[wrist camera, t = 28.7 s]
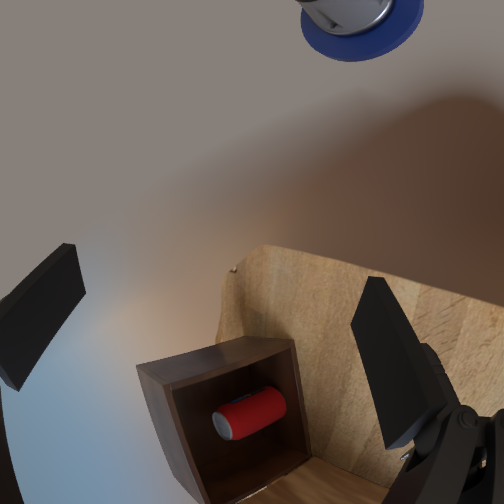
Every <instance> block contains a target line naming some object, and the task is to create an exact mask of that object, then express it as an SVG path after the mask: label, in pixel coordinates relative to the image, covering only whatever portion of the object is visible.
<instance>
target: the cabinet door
mask: <svg viewBox="0 0 504 504" xmlns="http://www.w3.org/2000/svg"><path fill="white" fill-rule="evenodd" d="M389 490H390V489H388V488H386V487H383V486H380V485H378V484H375V483H373V482H370V481H368V480H365V479H363V478H360V477H358V476H356V475H354V474H351V473H349V472H347V471H345V470H342V469H340V468H338V467H336V466H334V465H332V464H330V463H328V462H326V461H324V460H322V459H320V458H318V457H316V456H314V457H312V458H311V459H310V460H308V461H307V462H306V463H304V464H303V465H301V466H300V467H298V468H297V469H295V470H294V471H292V472H291V473H289V474H288V475H286V476H285V477H283V478H282V479H280V480H278V481H277V482H275V483H274V484H272V485H270V486H269V487H267V488H265V489H264V490H262V491H260V492H258V493H257V494H255V495H253V496H251V497H249V498H247V499H246V500H244V501H242V502H240V503H238V504H381V503H382V501H383V500H384V498H385V497H386V495H387V493H388V492H389Z"/></svg>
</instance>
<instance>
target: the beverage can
mask: <svg viewBox="0 0 504 504" xmlns="http://www.w3.org/2000/svg"><path fill="white" fill-rule="evenodd" d="M285 414H286V402H285V399H284V397H283V396H282V394H281V393H280V392H279V391H278V390H276V389H275V388H273V387H271V386H266V387H264V388H261V389H259V390H257V391H254V392H252V393H250V394H247V395H245V396H243V397H240V398H238V399H236V400H233V401H231V402H228V403H226V404H224V405H221V406H220V407H219V408H218V409H217V410H216V412H214V413H213V415H212V420H213V423H214V426H215V428H216V430H217V432H218V433H219V434H220V436H221V437H222V438H224V439H225V440H240V439H242V438H244V437H246V436H248V435H250V434H252V433H254V432H256V431H258V430H260V429H262V428H264V427H266V426H268V425H270V424H271V423H273V422H275V421H277V420H279V419H280V418H282V417H284V416H285Z"/></svg>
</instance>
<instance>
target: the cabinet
mask: <svg viewBox="0 0 504 504" xmlns="http://www.w3.org/2000/svg"><path fill="white" fill-rule="evenodd" d="M136 368H137V372H138V376H139V380H140V383H141V387H142V390H143V393H144V397H145V400H146V403H147V406H148V409H149V412H150V416H151V418H152V422H153V424H154V427H155V430H156V433H157V436H158V438H159V441H160V444H161V446H162V449H163V451H164V454H165V456H166V459H167V461H168V464H169V466H170V469H171V471H172V473H173V475H174V477H175V478H176V479H177V481H178V482H179V483H180V484H181V485H182V486H183V487H184V488H185V490H186V491H187V492H188V493H189V494H190V495H191V496H192V497H193V498H194V499H195V500H196V501H197V502H198V503H199V504H234V503H236V502H238V501H240V500H241V499H243V498H245V497H247V496H249V495H251V494H253V493H254V492H256V491H258V490H260V489H262V488H263V487H265V486H267V485H268V484H270V483H272V482H273V481H275V480H277V479H278V478H280V477H281V476H283V475H285V474H286V473H288V472H289V471H291V470H292V469H294V468H295V467H297V466H298V465H300V464H301V463H303V462H304V461H305V460H307V459H308V458H310V457H311V456H312V453H311V446H310V439H309V432H308V425H307V418H306V412H305V405H304V399H303V392H302V386H301V380H300V373H299V367H298V361H297V355H296V349H295V343H294V340H286V339H272V338H259V337H248V336H242V337H239V338H236V339H233V340H229V341H226V342H223V343H219V344H216V345H213V346H209V347H205V348H202V349H199V350H195V351H191V352H188V353H184V354H180V355H176V356H172V357H168V358H164V359H160V360H156V361H152V362H147V363H143V364H139V365H136ZM266 386H271V387H273V388H275V389H276V390H278V391H279V392H280V393H281V394H282V396H283V397H284V399H285V402H286V414H285V416H284V417H282V418H280V419H279V420H277V421H275V422H273V423H271V424H270V425H268V426H266V427H264V428H262V429H260V430H258V431H256V432H254V433H252V434H250V435H248V436H246V437H244V438H242V439H240V440H225V439H224V438H222V437H221V436H220V434H219V433H218V432H217V430H216V428H215V426H214V423H213V420H212V415H213V413H214V412H216V410H217V409H218V408H219V407H220V406H221V405H224V404H226V403H228V402H231V401H233V400H236V399H238V398H240V397H243V396H245V395H247V394H250V393H252V392H254V391H257V390H259V389H261V388H264V387H266Z"/></svg>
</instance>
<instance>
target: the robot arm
mask: <svg viewBox="0 0 504 504" xmlns="http://www.w3.org/2000/svg"><path fill="white" fill-rule="evenodd" d="M296 1H297V2H299V4H300V5H301V6H302V7H303V9H304V10H305V11H306V12H307V14H308V15H309V16H310V17H311V19H312V20H313V21H314V22H315V23H316V24H317V26H319V27H320V28H321V29H323V30H324V31H326V32H327V33H329V34H331V35H333V36H337V37H343V38H350V37H357V36H361V35H364V34H366V33H369V32H371V31H373V30H375V29H376V28H378V27H379V26H380V25H382V24H383V23H384V22H385V21H386V20H387V19H388V18H389V16H390V15H391V13H392V12H393V10H394V7H395V4H396V0H296ZM85 294H86V291H85V287H84V283H83V279H82V275H81V270H80V266H79V261H78V256H77V252H76V247H75V245H74V244H66V243H63V244H62V245H61V246H59V247H58V248H57V249H56V250H55V251H54V252H53V253H51V254H50V255H49V256H48V257H47V258H46V259H45V260H44V261H43V262H41V263H40V264H39V265H38V266H37V267H36V268H35V269H34V270H33V271H32V272H31V273H30V274H29V275H28V276H27V277H26V278H25V279H24V280H22V282H21V283H19V285H17V286H16V288H15V289H13V291H12V292H11V293H10V294H8V295H7V296H5V297H4V298H2V300H1V301H0V377H1V378H2V379H3V381H4V382H5V384H6V385H7V386H9V387H11V388H13V389H14V390H16V391H18V392H19V391H20V389H21V387H22V386H23V384H24V382H25V380H26V379H27V377H28V376H29V374H30V372H31V371H32V369H33V368H34V366H35V365H36V363H37V361H38V360H39V358H40V357H41V355H42V354H43V352H44V350H45V349H46V348H47V346H48V345H49V343H50V341H51V340H52V339H53V337H54V336H55V334H56V333H57V331H58V330H59V329H60V328H61V326H62V325H63V323H64V322H65V320H66V319H67V318H68V316H69V315H70V314H71V312H72V311H73V310H74V308H75V307H76V306H77V304H78V303H79V302H80V301H81V299H82V298H83V297H84V295H85ZM350 325H351V328H352V331H353V334H354V337H355V340H356V343H357V346H358V350H359V353H360V356H361V359H362V363H363V366H364V369H365V373H366V376H367V380H368V383H369V386H370V390H371V394H372V397H373V401H374V405H375V408H376V412H377V416H378V420H379V424H380V428H381V432H382V436H383V440H384V445H385V449H386V450H389V449H394V448H399V447H404V446H405V445H406V444H408V443H409V442H410V441H411V440H412V439H413V440H414V444H415V446H414V447H412V448H411V449H410V450H409V451H408V452H406V453H405V454H404V455H403V456H402V457H401V458H400V460H403V459H405V458H406V457H407V456H408V457H407V459H406V461H405V463H404V465H403V467H402V469H401V470H400V472H399V474H398V476H397V478H396V480H395V481H394V483H393V485H392V487H391V488H390V490H389V492H388V493H387V495H386V497H385V498H384V500H383V501H382V503H381V504H504V409H500V410H499V411H498V412H497V413H496V414H495V415H494V416H493V417H481V416H478V414H477V413H476V412H475V410H474V409H472V408H471V407H469V406H466V405H461V404H460V402H459V400H458V397H457V395H456V393H455V391H454V389H453V386H452V384H451V382H450V380H449V378H448V376H447V374H446V373H445V370H444V368H443V366H442V365H441V362H440V360H439V358H438V356H437V354H436V352H435V351H434V350H433V349H432V348H431V347H430V346H429V345H428V344H427V343H420V342H419V340H418V338H417V336H416V334H415V332H414V330H413V328H412V326H411V324H410V323H409V321H408V319H407V317H406V315H405V314H404V312H403V310H402V308H401V306H400V305H399V303H398V301H397V299H396V298H395V296H394V294H393V292H392V291H391V289H390V287H389V286H388V284H387V282H386V281H385V279H384V277H372V276H368V279H367V282H366V284H365V287H364V290H363V293H362V296H361V298H360V301H359V304H358V306H357V309H356V312H355V314H354V317H353V319H352V322H351V324H350ZM485 459H486V466H485V467H482V461H484V460H485ZM0 504H24V502H23V499H22V496H21V493H20V490H19V486H18V483H17V480H16V476H15V473H14V469H13V465H12V461H11V457H10V452H9V447H8V443H7V437H6V431H5V425H4V418H3V410H2V402H1V388H0Z"/></svg>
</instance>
